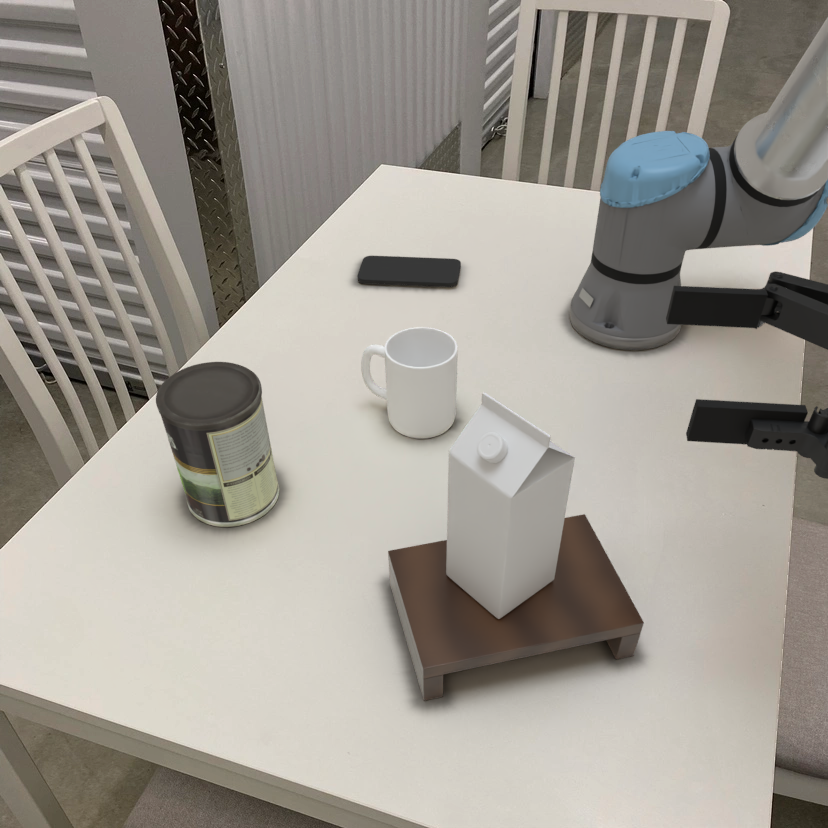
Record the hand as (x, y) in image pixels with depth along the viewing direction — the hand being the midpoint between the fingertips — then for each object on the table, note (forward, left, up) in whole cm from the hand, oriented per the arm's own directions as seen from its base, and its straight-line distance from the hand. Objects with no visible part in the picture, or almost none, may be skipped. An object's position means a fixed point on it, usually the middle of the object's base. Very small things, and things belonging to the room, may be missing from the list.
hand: (679, 358), depth 56 cm
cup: (+11, -36, -30) cm, 49 cm away
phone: (+3, -69, -30) cm, 76 cm away
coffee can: (+33, -27, -30) cm, 52 cm away
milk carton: (+10, -4, -25) cm, 27 cm away
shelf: (+9, -3, -30) cm, 32 cm away
